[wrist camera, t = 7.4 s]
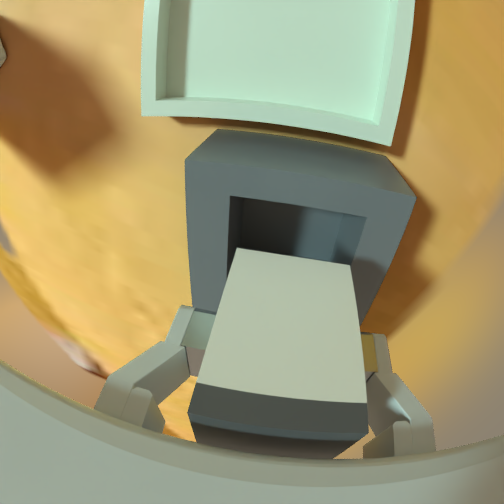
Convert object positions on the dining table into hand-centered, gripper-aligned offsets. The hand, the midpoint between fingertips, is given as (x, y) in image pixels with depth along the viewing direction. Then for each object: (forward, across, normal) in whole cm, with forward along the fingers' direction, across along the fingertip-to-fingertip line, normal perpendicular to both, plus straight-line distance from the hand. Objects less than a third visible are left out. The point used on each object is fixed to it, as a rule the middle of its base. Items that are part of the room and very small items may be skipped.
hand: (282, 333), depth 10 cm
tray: (+9, +2, -11) cm, 14 cm away
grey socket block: (+9, 0, +4) cm, 10 cm away
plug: (+2, 0, 0) cm, 2 cm away
